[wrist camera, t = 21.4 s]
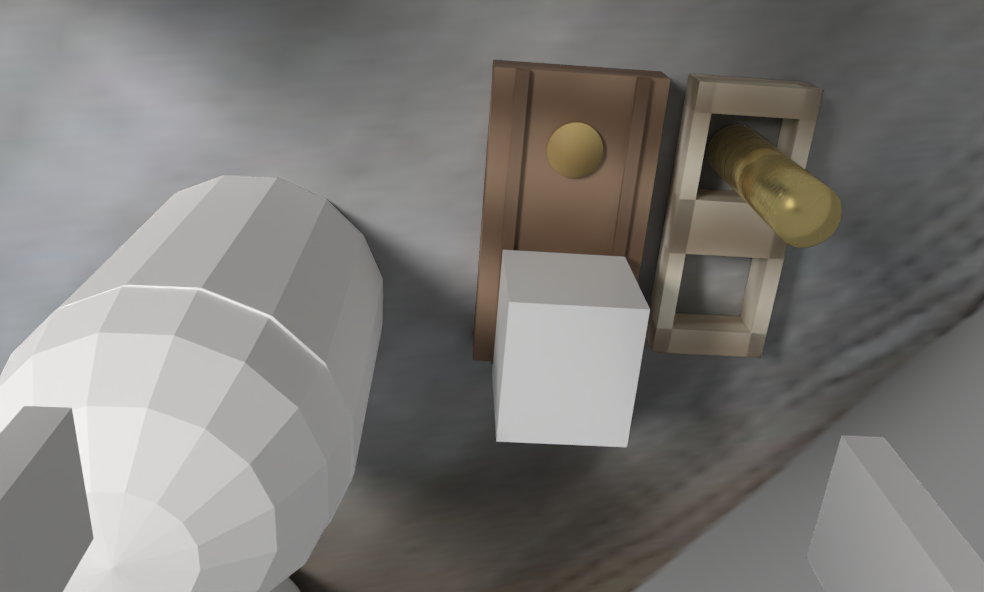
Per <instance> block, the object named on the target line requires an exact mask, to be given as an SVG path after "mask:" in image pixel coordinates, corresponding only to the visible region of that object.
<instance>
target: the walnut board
mask: <svg viewBox="0 0 984 592" xmlns="http://www.w3.org/2000/svg"><path fill="white" fill-rule="evenodd" d="M670 80H671V79H669V78H668V77H667V76H666V75H664V74H663V73H662V72H658V71H644V70H630V69H616V68H602V67H587V66H573V65H559V64H545V63H531V62H517V61H503V60H493V73H492V86H491V100H490V114H489V127H488V141H487V155H486V168H485V182H484V196H483V209H482V223H481V237H480V251H479V264H478V278H477V292H476V305H475V319H474V333H473V360H480V361H491V362H492V364H493V358H494V346H495V334H496V323H497V311H498V299H499V288H500V276H501V264H502V252H503V250H517V251H535V252H552V253H569V254H587V255H604V256H622V257H625V258H626V260H627V262H628V264H629V266H630V268H631V270H632V272H633V275H634V277H635V279H636V281H637V283H638V280H639V274H640V268H641V261H642V255H643V249H644V243H645V236H646V230H647V224H648V218H649V211H650V205H651V199H652V192H653V186H654V180H655V174H656V167H657V161H658V155H659V149H660V142H661V136H662V130H663V124H664V117H665V111H666V105H667V98H668V92H669V86H670Z"/></svg>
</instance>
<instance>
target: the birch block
mask: <svg viewBox="0 0 984 592" xmlns="http://www.w3.org/2000/svg"><path fill="white" fill-rule="evenodd" d="M823 91H824V90H822V89H820V88H818V87H816V86H814V85H812V84H810V83H808V82H799V81H785V80H771V79H756V78H742V77H728V76H714V75H700V74H689V76H688V82H687V88H686V94H685V100H684V106H683V112H682V118H681V124H680V130H679V136H678V142H677V148H676V154H675V160H674V166H673V171H672V177H671V183H670V189H669V195H668V201H667V207H666V213H665V219H664V225H663V231H662V237H661V243H660V249H659V255H658V261H657V267H656V273H655V279H654V285H653V291H652V296H651V302H650V313H649V319H648V325H647V331H646V338H647V340H648V343H649V345H650V347H651V350H652V352H658V353H678V354H698V355H718V356H738V357H757V358H761V355H762V351H763V346H764V342H765V338H766V334H767V329H768V325H769V321H770V317H771V312H772V308H773V304H774V300H775V295H776V291H777V287H778V283H779V278H780V274H781V270H782V266H783V261H784V257H785V253H786V249H787V243H786V242H785V241H783V240H782V239H781V238H780V237H779V236H778V235H777V234H776V233H775V231H774V230H773V229H772V228H771V227H770V226H769V225H768V224H767V223H766V222H765V221H764V220H763V219H762V218H761V217H760V216H759V215H758V214H757V213H756V212H755V211H754V210H753V209H752V208H751V207H750V206H749V205H748V204H747V203H746V202H745V201H744V200H743V199H742V198H741V197H740V196H739V195H738V194H737V193H736V191H731V190H715V189H699V188H698V184H699V178H700V173H701V167H702V162H703V157H704V151H705V146H706V140H707V135H708V129H709V124H710V118H711V113H714V114H729V115H744V116H758V117H773V118H783V121H782V125H781V130H780V135H779V139H778V144H777V149H779V150H780V151H781V152H783V153H784V154H785V155H787V156H788V157H789V158H791V159H792V160H793V161H795V162H796V163H797V164H798V165H800V166H801V167H802V168H804V169H805V168H806V163H807V159H808V155H809V151H810V146H811V142H812V138H813V134H814V129H815V125H816V121H817V117H818V112H819V108H820V104H821V100H822V95H823ZM686 254H697V255H715V256H732V257H749V258H752V263H751V268H750V272H749V277H748V281H747V286H746V290H745V295H744V300H743V304H742V309H741V313H740V316H721V315H703V314H684V313H675V310H676V305H677V299H678V294H679V288H680V283H681V277H682V272H683V266H684V261H685V255H686Z"/></svg>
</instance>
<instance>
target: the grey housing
mask: <svg viewBox="0 0 984 592" xmlns="http://www.w3.org/2000/svg"><path fill="white" fill-rule="evenodd" d="M649 313H650V308H649V306H648V304H647V302H646V300H645V298H644V296H643V294H642V291H641V289H640V287H639V285H638V283H637V281H636V279H635V277H634V275H633V272H632V270H631V268H630V266H629V264H628V262H627V260H626V258H625V257H622V256H604V255H587V254H569V253H552V252H535V251H517V250H503V252H502V264H501V276H500V288H499V299H498V311H497V323H496V334H495V346H494V358H493V370H492V382H493V398H494V413H495V428H496V442H517V443H540V444H563V445H586V446H609V447H627V444H628V438H629V432H630V426H631V420H632V414H633V408H634V402H635V396H636V390H637V384H638V378H639V372H640V366H641V360H642V354H643V349H644V343H645V337H646V331H647V325H648V319H649Z"/></svg>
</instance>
